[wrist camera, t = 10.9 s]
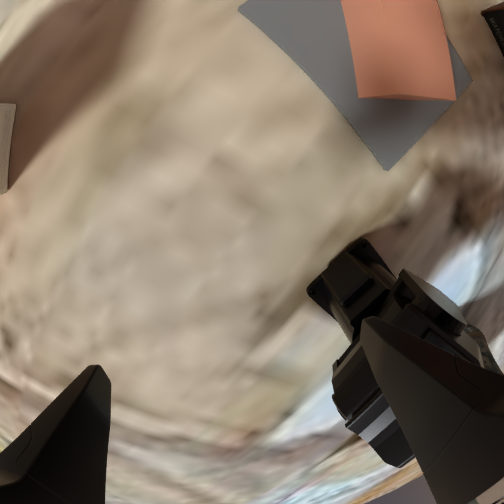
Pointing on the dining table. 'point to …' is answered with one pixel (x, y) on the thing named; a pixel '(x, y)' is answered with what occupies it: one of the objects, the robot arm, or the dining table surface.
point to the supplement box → (5, 141)
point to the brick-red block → (399, 49)
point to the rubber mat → (348, 73)
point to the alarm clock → (496, 23)
